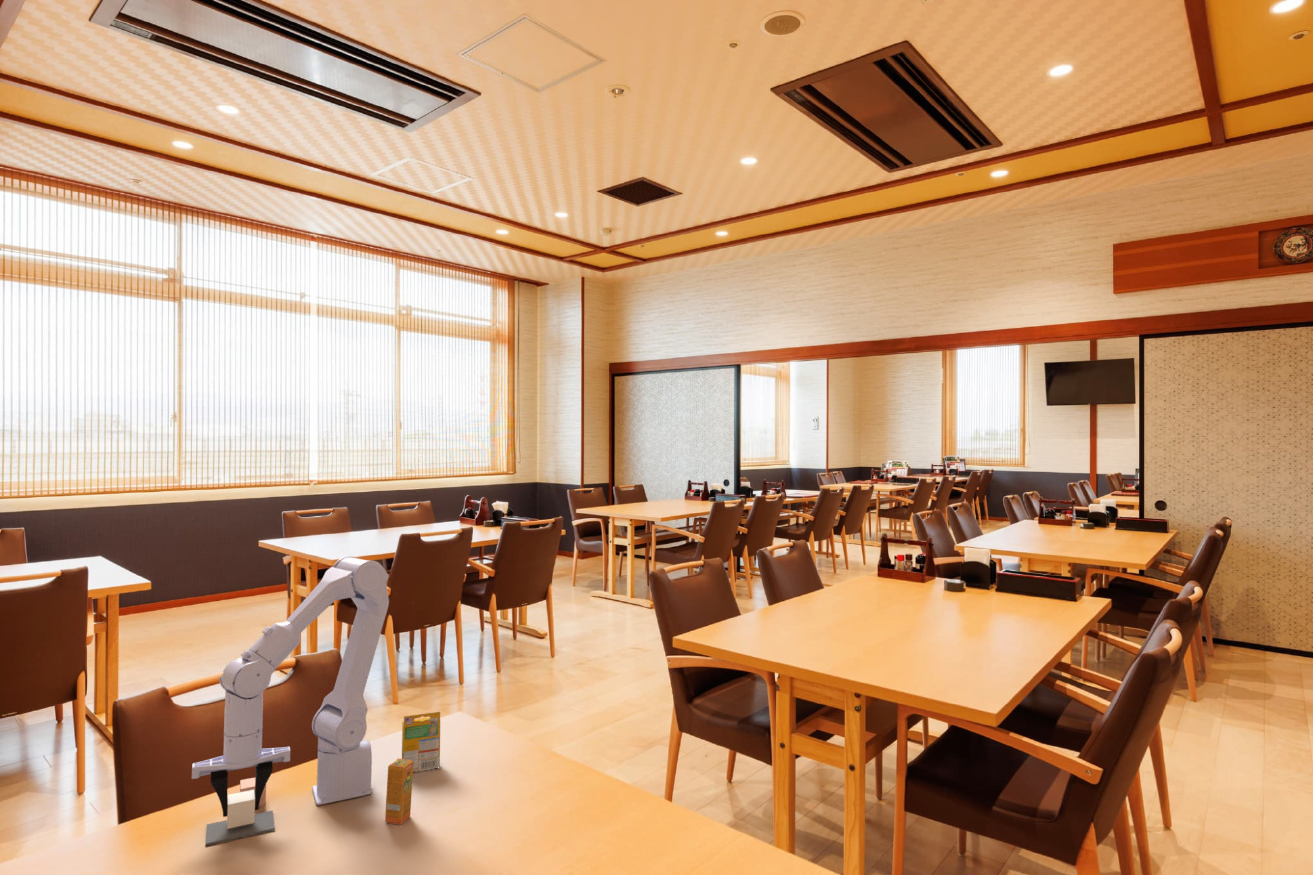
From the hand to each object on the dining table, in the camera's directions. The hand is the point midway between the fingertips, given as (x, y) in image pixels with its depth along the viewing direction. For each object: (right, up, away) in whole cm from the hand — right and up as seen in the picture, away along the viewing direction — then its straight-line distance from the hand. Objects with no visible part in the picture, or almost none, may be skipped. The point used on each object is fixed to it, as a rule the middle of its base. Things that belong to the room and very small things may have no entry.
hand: (241, 810), depth 123 cm
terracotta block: (-3, -3, +9) cm, 10 cm away
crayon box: (+23, -4, +24) cm, 33 cm away
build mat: (0, -3, 0) cm, 3 cm away
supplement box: (+26, -4, +4) cm, 26 cm away
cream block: (0, -2, 0) cm, 2 cm away
